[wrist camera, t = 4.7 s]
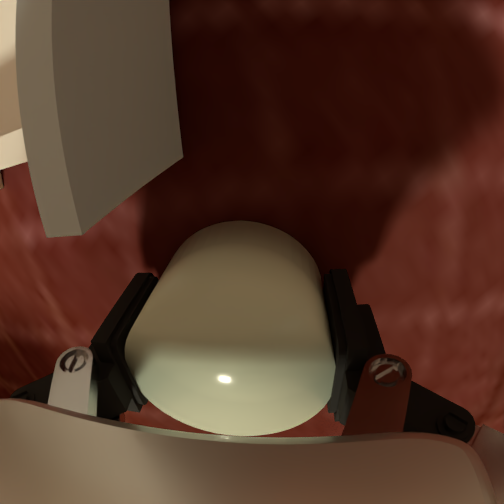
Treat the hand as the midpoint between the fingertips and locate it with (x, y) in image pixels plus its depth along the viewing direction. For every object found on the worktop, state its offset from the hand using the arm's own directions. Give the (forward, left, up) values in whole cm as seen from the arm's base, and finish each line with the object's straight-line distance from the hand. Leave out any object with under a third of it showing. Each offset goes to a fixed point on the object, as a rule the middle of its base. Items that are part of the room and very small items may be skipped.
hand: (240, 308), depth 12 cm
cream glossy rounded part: (0, 0, -1) cm, 1 cm away
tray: (+8, -16, -1) cm, 18 cm away
